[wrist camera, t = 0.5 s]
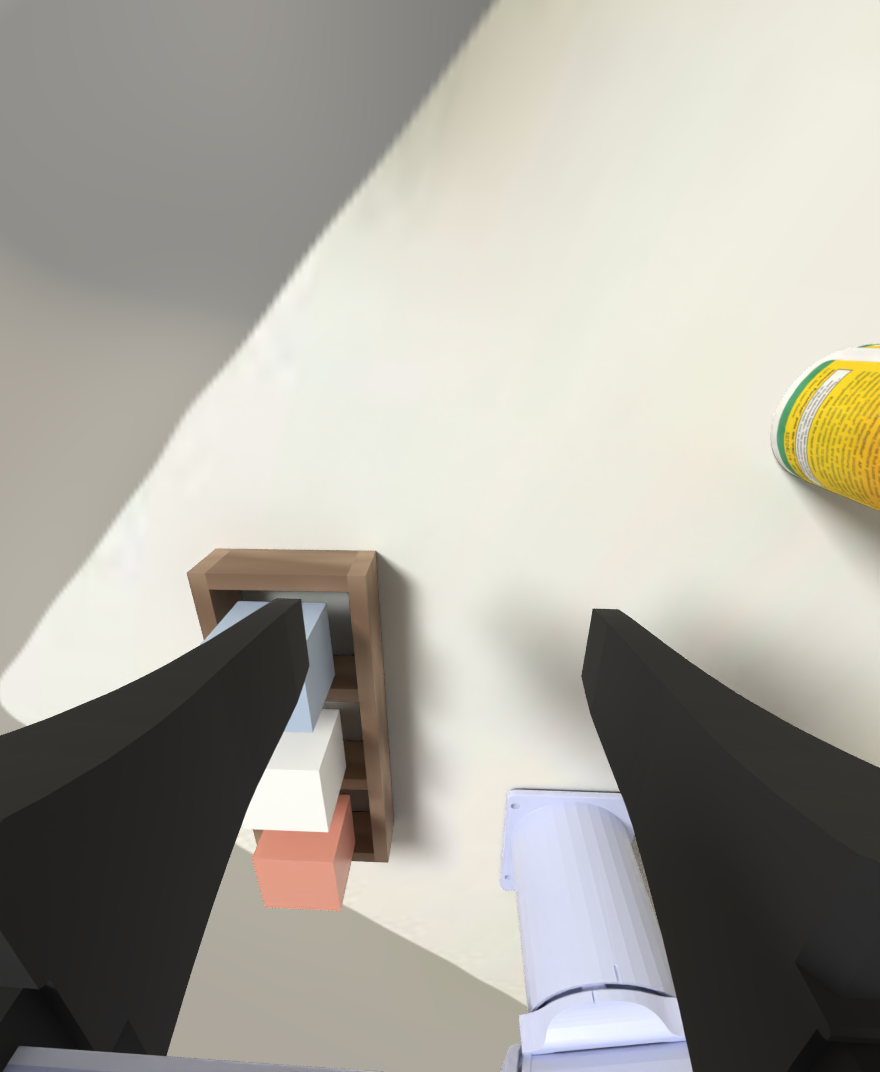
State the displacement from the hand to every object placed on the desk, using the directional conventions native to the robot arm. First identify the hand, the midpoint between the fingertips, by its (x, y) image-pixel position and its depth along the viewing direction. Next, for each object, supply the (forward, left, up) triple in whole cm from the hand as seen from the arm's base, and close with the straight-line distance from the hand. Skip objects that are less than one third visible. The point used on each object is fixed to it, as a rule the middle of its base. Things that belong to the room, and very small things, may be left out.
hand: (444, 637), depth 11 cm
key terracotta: (-18, +8, -8) cm, 21 cm away
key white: (-12, +7, -8) cm, 16 cm away
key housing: (-12, +8, -10) cm, 17 cm away
